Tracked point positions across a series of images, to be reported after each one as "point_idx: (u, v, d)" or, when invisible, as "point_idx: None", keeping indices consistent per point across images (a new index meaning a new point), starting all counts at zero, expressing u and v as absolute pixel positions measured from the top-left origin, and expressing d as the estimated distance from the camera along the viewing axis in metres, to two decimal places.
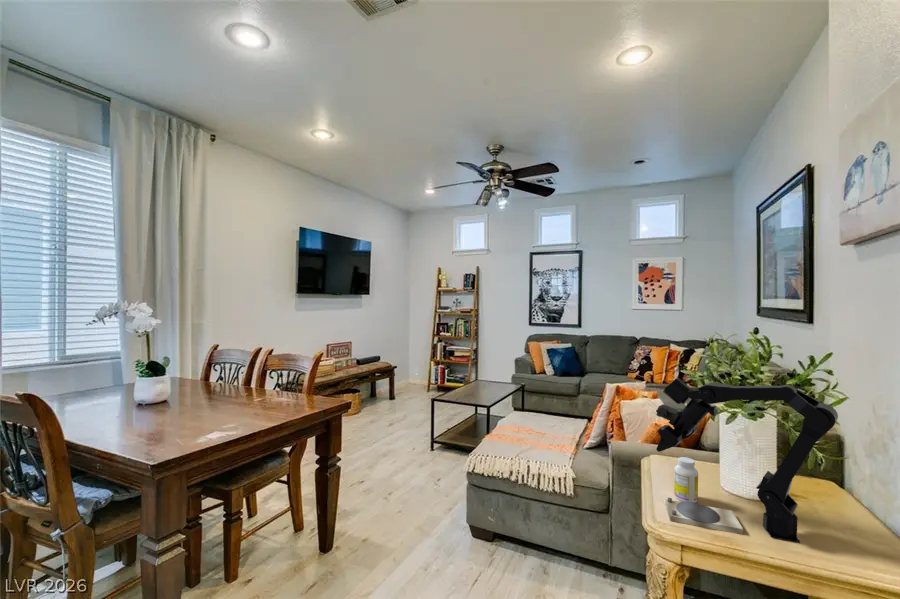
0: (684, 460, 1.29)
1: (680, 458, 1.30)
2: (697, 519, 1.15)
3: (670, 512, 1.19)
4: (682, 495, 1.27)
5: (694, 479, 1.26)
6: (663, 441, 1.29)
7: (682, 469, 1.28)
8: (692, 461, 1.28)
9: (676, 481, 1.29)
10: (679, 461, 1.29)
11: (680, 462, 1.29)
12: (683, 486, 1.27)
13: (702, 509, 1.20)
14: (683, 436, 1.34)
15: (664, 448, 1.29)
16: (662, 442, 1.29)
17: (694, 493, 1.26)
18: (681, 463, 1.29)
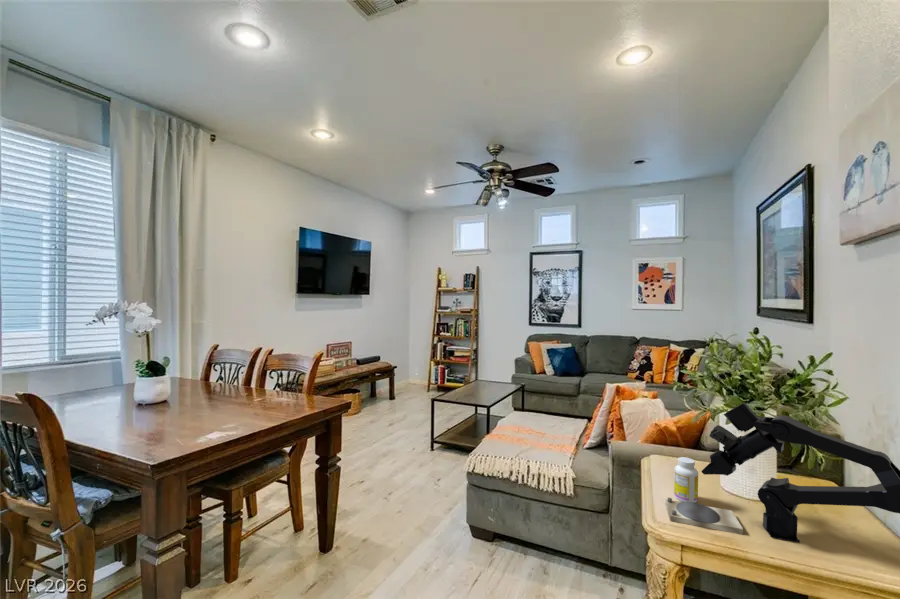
0: (684, 460, 1.29)
1: (680, 458, 1.30)
2: (697, 519, 1.15)
3: (670, 512, 1.19)
4: (683, 495, 1.27)
5: (694, 479, 1.26)
6: (712, 466, 1.19)
7: (682, 469, 1.28)
8: (692, 461, 1.28)
9: (676, 481, 1.29)
10: (679, 461, 1.29)
11: (680, 462, 1.29)
12: (683, 486, 1.27)
13: (702, 509, 1.20)
14: None
15: (712, 473, 1.19)
16: (711, 467, 1.19)
17: (694, 493, 1.26)
18: (681, 463, 1.29)
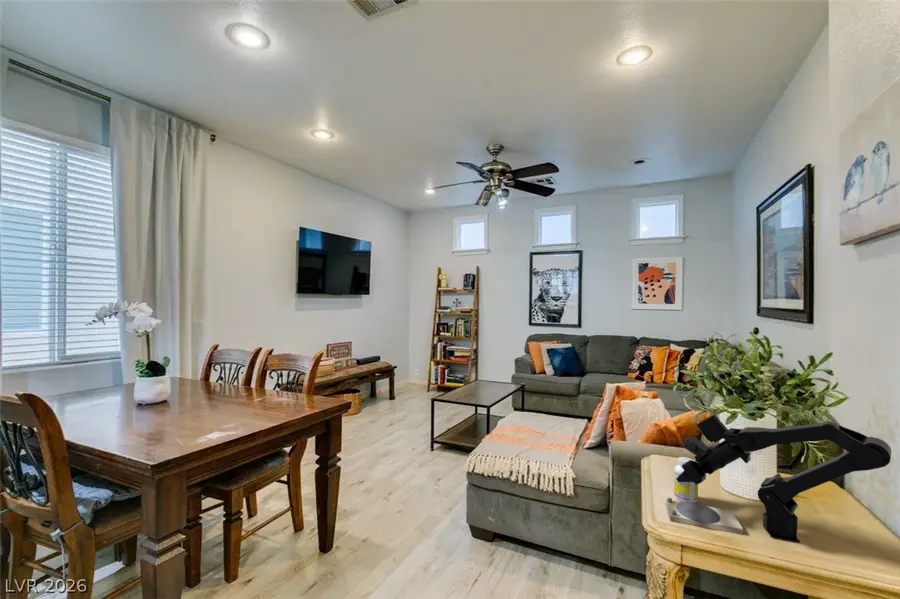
0: (684, 460, 1.29)
1: (680, 458, 1.30)
2: (697, 519, 1.15)
3: (670, 512, 1.19)
4: (682, 495, 1.27)
5: None
6: (686, 474, 1.25)
7: (682, 469, 1.28)
8: None
9: (676, 481, 1.29)
10: (679, 461, 1.29)
11: (680, 462, 1.29)
12: (683, 486, 1.27)
13: (702, 509, 1.20)
14: None
15: (685, 480, 1.25)
16: (685, 475, 1.25)
17: (694, 493, 1.26)
18: (681, 463, 1.29)
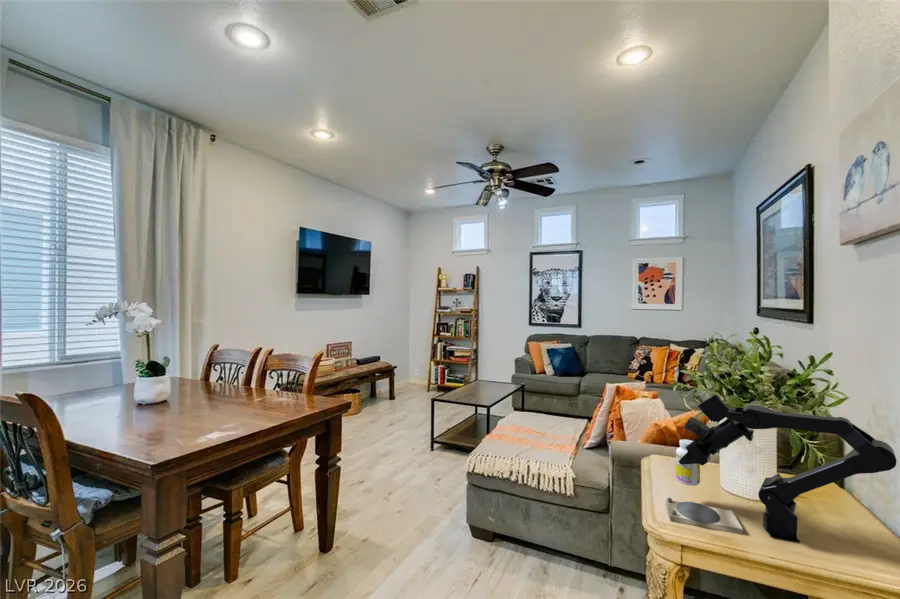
0: (686, 442, 1.27)
1: (681, 440, 1.28)
2: (697, 519, 1.15)
3: (670, 512, 1.19)
4: (685, 477, 1.25)
5: None
6: (689, 455, 1.23)
7: (684, 451, 1.26)
8: None
9: (678, 464, 1.27)
10: (681, 443, 1.27)
11: (682, 444, 1.27)
12: (686, 469, 1.25)
13: (702, 509, 1.20)
14: None
15: (688, 462, 1.23)
16: (688, 456, 1.23)
17: (696, 475, 1.24)
18: (683, 445, 1.26)
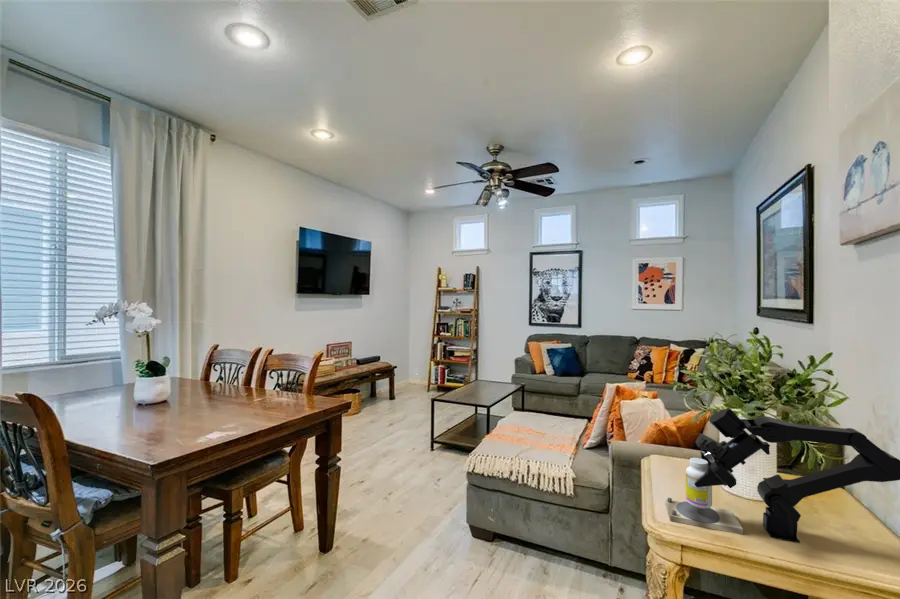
0: (699, 462, 1.18)
1: (692, 460, 1.19)
2: (697, 519, 1.15)
3: (670, 512, 1.19)
4: (702, 500, 1.16)
5: None
6: (708, 477, 1.14)
7: (699, 472, 1.17)
8: (705, 461, 1.18)
9: (693, 487, 1.17)
10: (694, 463, 1.18)
11: (696, 464, 1.17)
12: (702, 491, 1.16)
13: (702, 509, 1.20)
14: None
15: (707, 484, 1.14)
16: (707, 478, 1.14)
17: (711, 496, 1.16)
18: (697, 466, 1.17)
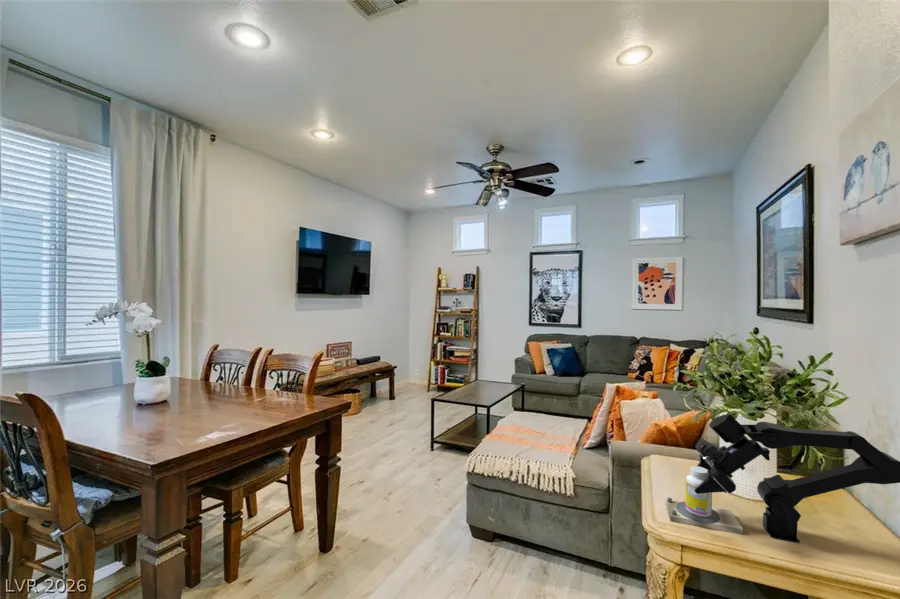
0: (699, 470, 1.18)
1: (692, 468, 1.19)
2: (697, 519, 1.15)
3: (670, 512, 1.19)
4: (701, 509, 1.16)
5: None
6: (708, 484, 1.13)
7: (699, 481, 1.16)
8: (705, 470, 1.18)
9: (693, 495, 1.17)
10: (694, 472, 1.17)
11: (696, 473, 1.17)
12: (702, 500, 1.15)
13: None
14: (710, 472, 1.22)
15: (707, 491, 1.13)
16: (707, 485, 1.13)
17: (711, 505, 1.16)
18: (697, 474, 1.17)
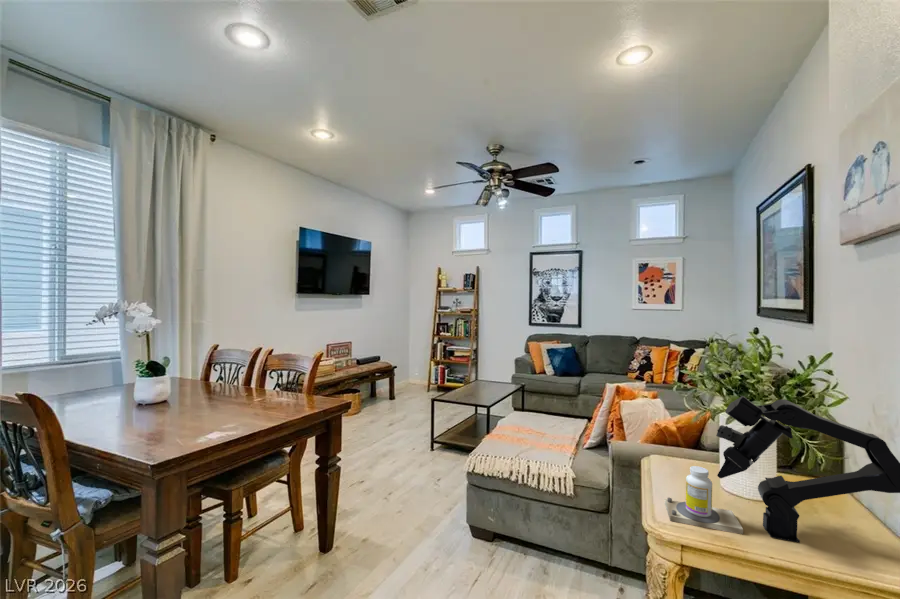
0: (699, 470, 1.18)
1: (692, 468, 1.19)
2: (697, 519, 1.15)
3: (670, 512, 1.19)
4: (701, 509, 1.16)
5: (711, 489, 1.16)
6: (728, 465, 1.13)
7: (699, 481, 1.16)
8: (705, 470, 1.18)
9: (692, 495, 1.17)
10: (694, 472, 1.17)
11: (696, 473, 1.17)
12: (702, 500, 1.15)
13: None
14: None
15: (728, 474, 1.12)
16: (726, 467, 1.13)
17: (711, 505, 1.16)
18: (697, 474, 1.17)
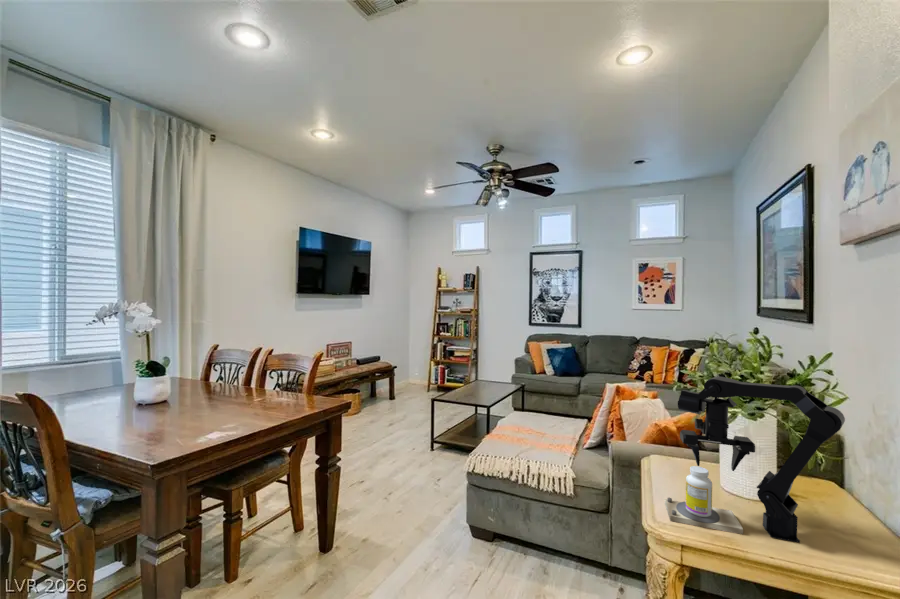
0: (699, 470, 1.18)
1: (692, 468, 1.19)
2: (697, 519, 1.15)
3: (670, 512, 1.19)
4: (701, 509, 1.16)
5: (711, 489, 1.16)
6: None
7: (699, 481, 1.16)
8: (705, 470, 1.18)
9: (692, 495, 1.17)
10: (694, 472, 1.17)
11: (696, 473, 1.17)
12: (702, 500, 1.15)
13: None
14: (736, 454, 1.20)
15: (695, 457, 1.24)
16: (693, 451, 1.25)
17: (711, 505, 1.16)
18: (697, 474, 1.17)
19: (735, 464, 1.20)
